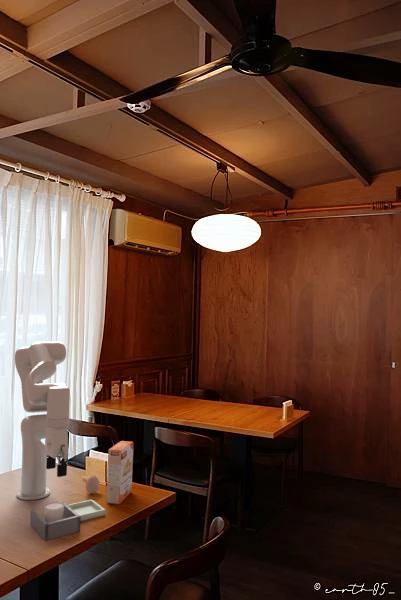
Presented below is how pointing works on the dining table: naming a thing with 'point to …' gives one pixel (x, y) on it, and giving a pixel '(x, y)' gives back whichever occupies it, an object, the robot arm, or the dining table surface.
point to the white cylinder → (53, 512)
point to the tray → (87, 509)
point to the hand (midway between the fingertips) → (56, 472)
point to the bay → (56, 524)
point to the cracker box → (119, 472)
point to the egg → (92, 484)
